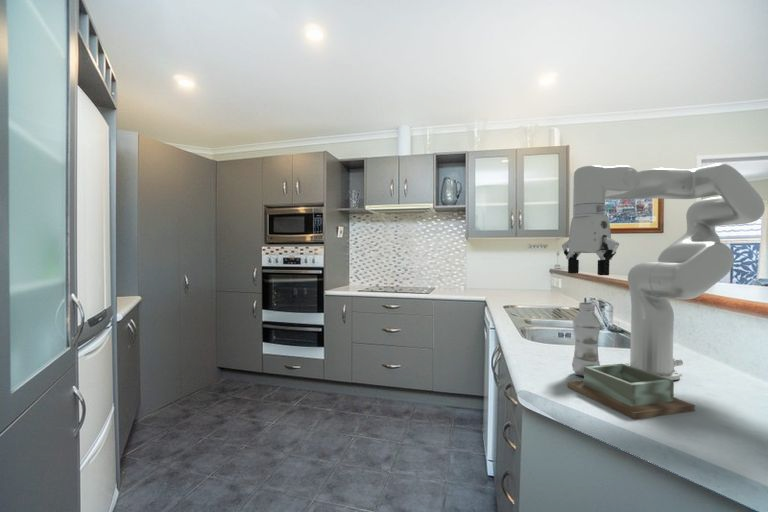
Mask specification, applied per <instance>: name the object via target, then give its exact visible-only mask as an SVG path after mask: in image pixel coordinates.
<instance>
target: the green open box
mask: <svg viewBox="0 0 768 512" xmlns="http://www.w3.org/2000/svg"><path fill="white" fill-rule="evenodd" d="M566 383H567V385H566V386H567V388H568V389H571V390H572V391H574V392H577V393H579V394H581V395H583V396H585V397H587V398H590V399H592V400H593V401H596V402H597V403H600V404H602V405H604V406H606V407H608V408H610V409H612V410H615V411H616V412H619V413H620V414H623V415H625V416H627V417H628V418H630V419H634V420H637V419H643V418H650V417H656V416H657V417H658V416H665V415H672V414H679V413H680V414H681V413H687V412H694V411H696V410H695V406H696V405H695V404H693V403H690V402H688V401H685V400H682V399H679V398H677V397H674V395H675V394H674V389H675V388H674V387H675V384H674V383H675V380H670V379H667V378H664V377H661V376H658V375H655V374H652V373H649V372H646V371H643V370H640V369H637V368H634V367H631V366H628V365H625V363H613V364H602V365H601V364H600V366H588V367H584V376H583V380H579V381H578V380H576V381H567V382H566Z"/></svg>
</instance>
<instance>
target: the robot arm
mask: <svg viewBox="0 0 768 512" xmlns="http://www.w3.org/2000/svg"><path fill="white" fill-rule="evenodd" d="M572 193H573V195H572V196H573V199H572V200H573V202H572V204H573V205H572V212H573V213H572V218H571V221H570V226H569V235H568V240H567V241H565V242H564V243H562V245H561V247H562V250H563V254H564V255H565V257H566V259H567V273H568V274H579V272H580V271H579V269H580V267H579V266H580V265H579V263H580V260H579V259H578V257H580V255H581V254H596V256H598V257H597V258H598V259H597V276H609V275H610V261H612V259H613V257H614V256H615V255H616V254H617V250H618V249H619V246H620V242H618V241H616V240H614V239H612V233H611V224H610V220H609V216H608V215H606V211H608V205H606V200H607V201H611V200H612V201H615V200H620V201H621V200H649V199H665V200H667V199H668V200H669V199H670V200H694V199H699V200H697V201H695V202H694V203H692V204H691V205H690V206H689V207H688V209H687V211H686V215H685V216H686V232H685V233H684V235H681V237H680V238H678V239H676V241H674V242H672V243H671V244H670V245H669V246H667V247H666V248H665V249H664V250H662V251H661V252H660V254H659V256H658V258H657V261H654V262H652V261H649V262H641V263H638V264H636V265H634V266H633V267H631V268H630V269H629V272H628V273H627V284H628V289H629V293H630V301H631V302H630V305H631V311H630V312H631V313H630V316H631V317H630V351H629V352H630V356H629V357H630V358H629V359H630V360H629V361H627V362H624V364H625V365H628V366H631V367H634V368H637V369H640V370H643V371H646V372H649V373H652V374H655V375H658V376H661V377H664V378H667V379H670V380H673V381H675V380H676V381H677V380H680V378H681V374H680V372H679V371H677V370H675V367H678V366H679V367H680V366H682V365H683V364H684V361H683V360H682V359H680V358H674V324H675V323H674V321H675V314H674V309H673V306H672V304H671V303H670V301H669V299H676V300H692V299H697V298H698V297H700V296H702V295H703V294H704V293H706V292H707V291H709V289H711V288H712V287H713V286H714V285H716V284H717V283H718V282H720V281H721V280H722V279H724V278H725V277H726V276H727V275H728V274H729V273H730V271H731V270H732V269H733V265H734V261H735V256H734V253H733V251H732V249H731V248H730V247H729V246H728V245H727V244H724V243H723V242H721V239H720V237H719V235H718V233H717V232H716V231H715V229H716V228H715V227H718V226H719V227H720V226H730V225H731V226H732V225H733V226H735V225H745V224H750V223H753V222H756V221H758V220H759V219H761V218H762V217H763V215H764V214H765V210H766V209H765V208H766V207H765V202H764V200H763V198H762V197H761V195H760V194H759V192H758V191H757V190H756V189H755V188H754V187H753V186H752V184H750V182H749V180H747V178H745V176H744V175H742V174H741V172H739V170H737V169H736V168H735V167H733V166H731V165H730V164H727V163H720V162H719V163H714V164H711V165H710V164H709V165H706V166H701V167H698V168H690V169H685V168H684V169H682V168H664V167H659V168H650V169H645V170H641V171H638V170H637V169H635V168H634V167H633V166H629V165H614V166H601V165H595V164H594V165H584V166H580V167H579V168H577V169H576V170H575V171H574V172H573V192H572ZM712 196H714V197H712ZM707 197H708V198H707ZM700 198H701V199H700ZM702 198H703V199H702Z"/></svg>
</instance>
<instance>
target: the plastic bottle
mask: <svg viewBox="0 0 768 512" xmlns="http://www.w3.org/2000/svg"><path fill="white" fill-rule="evenodd" d="M578 304H579V306H578V310H579V311H578V313H577V314H576V315H575V316H574V317H573V320H572V324H573V326H572V327H573V333H574V352H573V358H572V362H571V366H572V371H573V372H574V374H576V375H579V376H582V377H584V367H588V366H600V365H601V363H600V360H599V350H598V349H599V336H600V331H601V325H602V324H601V321H600V319H599V318H598V316H597V315H596V313H595V311H596V304H595V303H592V302H579V303H578Z"/></svg>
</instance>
